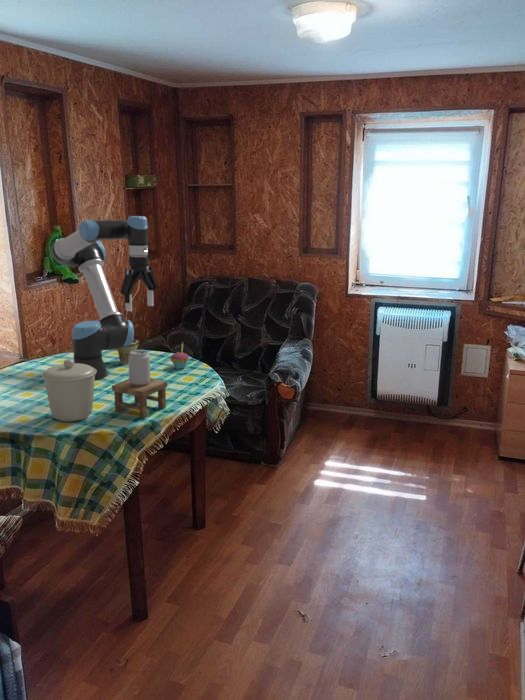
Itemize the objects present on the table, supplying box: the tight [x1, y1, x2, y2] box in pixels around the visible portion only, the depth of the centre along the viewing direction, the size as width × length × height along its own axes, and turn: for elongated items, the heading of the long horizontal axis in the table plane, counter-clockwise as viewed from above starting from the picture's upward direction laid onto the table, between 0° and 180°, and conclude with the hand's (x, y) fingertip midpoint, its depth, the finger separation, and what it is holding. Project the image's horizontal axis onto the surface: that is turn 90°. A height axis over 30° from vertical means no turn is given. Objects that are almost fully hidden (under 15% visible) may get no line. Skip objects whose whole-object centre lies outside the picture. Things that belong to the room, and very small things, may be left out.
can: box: [128, 349, 151, 386], centre depth 209 cm, size 8×8×12 cm
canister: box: [41, 358, 97, 423], centre depth 202 cm, size 18×18×21 cm
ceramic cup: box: [116, 339, 140, 365], centre depth 273 cm, size 13×10×10 cm
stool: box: [111, 377, 168, 419], centre depth 212 cm, size 14×14×10 cm
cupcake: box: [169, 342, 190, 369], centre depth 265 cm, size 9×8×12 cm
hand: (140, 308), depth 236 cm, fingers open, 13 cm apart
